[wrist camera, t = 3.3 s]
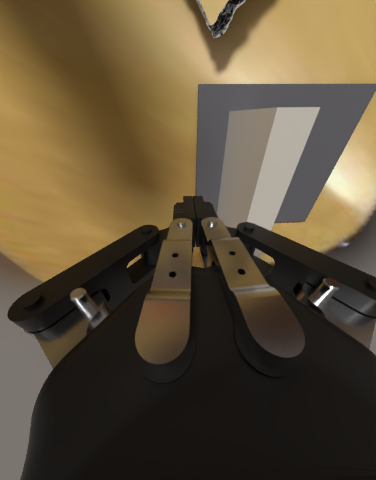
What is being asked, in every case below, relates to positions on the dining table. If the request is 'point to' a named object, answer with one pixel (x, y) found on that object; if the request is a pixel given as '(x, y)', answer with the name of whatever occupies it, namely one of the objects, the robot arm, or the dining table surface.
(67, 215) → the dining table surface
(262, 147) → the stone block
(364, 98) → the rubber mat
